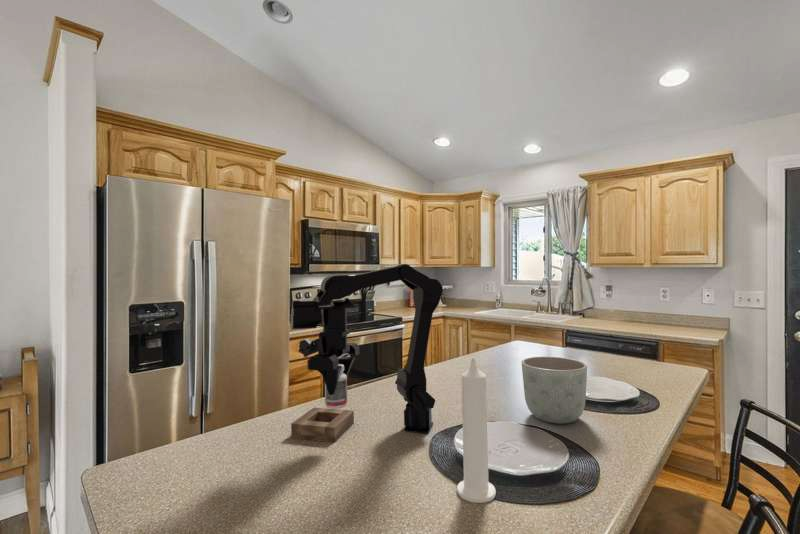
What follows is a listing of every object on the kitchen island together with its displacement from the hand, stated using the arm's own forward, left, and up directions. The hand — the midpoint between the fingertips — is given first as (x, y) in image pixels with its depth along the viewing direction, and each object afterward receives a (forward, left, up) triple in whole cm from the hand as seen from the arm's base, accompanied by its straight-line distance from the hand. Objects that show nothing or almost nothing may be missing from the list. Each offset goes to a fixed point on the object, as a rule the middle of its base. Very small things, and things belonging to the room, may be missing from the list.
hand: (336, 390), depth 96 cm
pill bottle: (0, 0, -4) cm, 4 cm away
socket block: (+7, -6, -12) cm, 15 cm away
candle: (-34, +14, -13) cm, 39 cm away
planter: (-52, -28, -13) cm, 61 cm away
